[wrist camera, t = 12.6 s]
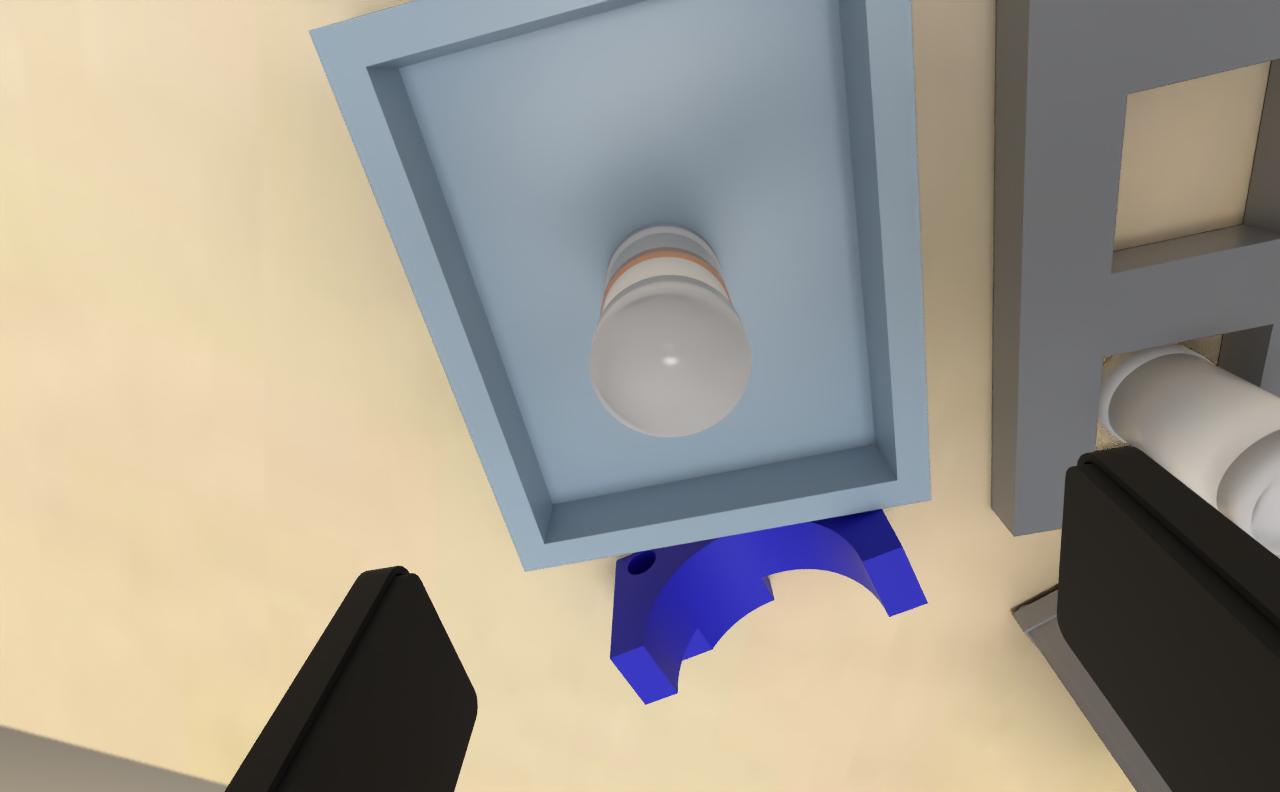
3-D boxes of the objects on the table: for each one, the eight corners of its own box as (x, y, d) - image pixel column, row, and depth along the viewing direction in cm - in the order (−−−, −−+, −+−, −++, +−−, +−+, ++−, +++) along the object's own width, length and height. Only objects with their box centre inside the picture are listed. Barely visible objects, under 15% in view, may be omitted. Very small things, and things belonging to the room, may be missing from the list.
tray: (863, -104, 19) (905, -139, 16) (899, 452, 28) (931, 500, 25) (358, 38, 21) (308, 30, 18) (537, 519, 30) (524, 571, 27)
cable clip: (659, 620, 33) (662, 726, 27) (616, 558, 31) (610, 658, 26) (887, 531, 30) (939, 629, 25) (854, 458, 28) (902, 546, 23)
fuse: (1202, 329, 25) (1421, 428, 18) (1188, 420, 27) (1382, 543, 20) (1090, 351, 26) (1260, 456, 19) (1083, 439, 28) (1236, 566, 20)
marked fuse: (709, 210, 23) (737, 271, 16) (729, 320, 25) (762, 420, 17) (594, 237, 23) (570, 308, 16) (621, 343, 25) (611, 450, 18)
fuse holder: (1491, -473, 16) (1598, -543, 14) (1273, 459, 28) (1315, 485, 26) (999, -321, 17) (1040, -366, 15) (991, 508, 29) (1013, 536, 27)
